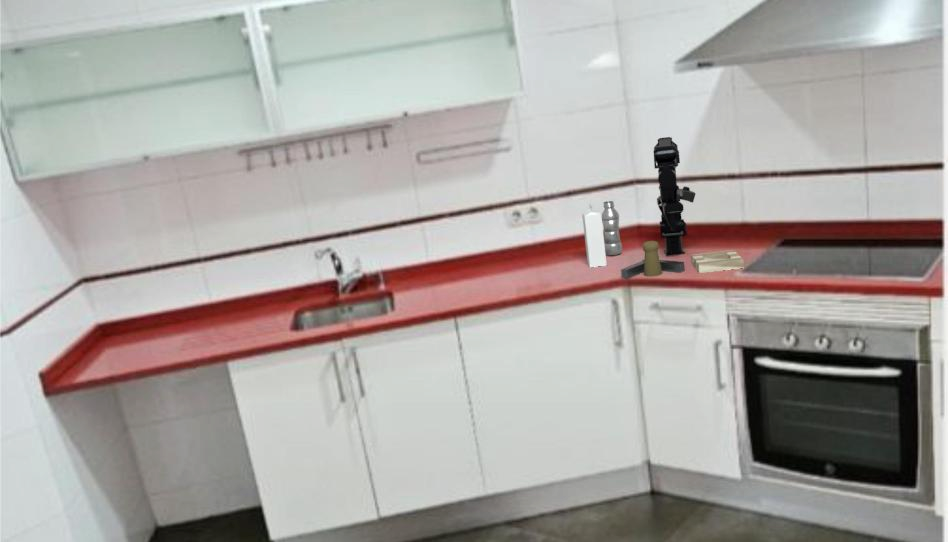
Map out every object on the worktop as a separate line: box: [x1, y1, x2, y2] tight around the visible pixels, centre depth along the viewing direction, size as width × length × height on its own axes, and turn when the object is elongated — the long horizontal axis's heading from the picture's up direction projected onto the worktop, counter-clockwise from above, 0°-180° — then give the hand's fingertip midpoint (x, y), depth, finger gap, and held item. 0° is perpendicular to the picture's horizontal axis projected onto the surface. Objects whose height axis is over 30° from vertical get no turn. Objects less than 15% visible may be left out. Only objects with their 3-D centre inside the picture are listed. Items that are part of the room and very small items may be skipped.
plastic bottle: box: [601, 200, 623, 256], centre depth 300 cm, size 6×7×20 cm
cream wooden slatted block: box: [690, 249, 745, 274], centre depth 266 cm, size 14×14×3 cm
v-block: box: [620, 259, 686, 280], centre depth 271 cm, size 12×20×3 cm, turn 85°
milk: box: [581, 203, 608, 269], centre depth 288 cm, size 6×6×22 cm
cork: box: [642, 240, 663, 277], centre depth 267 cm, size 6×6×11 cm
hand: (671, 228), depth 276 cm, fingers open, 9 cm apart
